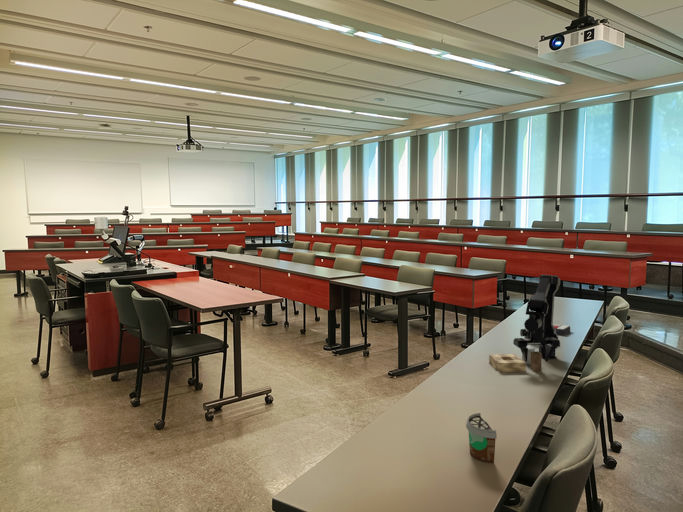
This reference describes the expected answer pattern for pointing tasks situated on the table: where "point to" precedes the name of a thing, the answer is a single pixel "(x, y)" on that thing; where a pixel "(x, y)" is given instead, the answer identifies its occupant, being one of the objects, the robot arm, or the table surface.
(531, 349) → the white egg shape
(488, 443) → the food container
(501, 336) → the table surface
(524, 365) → the socket block
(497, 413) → the table surface
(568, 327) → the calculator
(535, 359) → the square peg
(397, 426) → the table surface
